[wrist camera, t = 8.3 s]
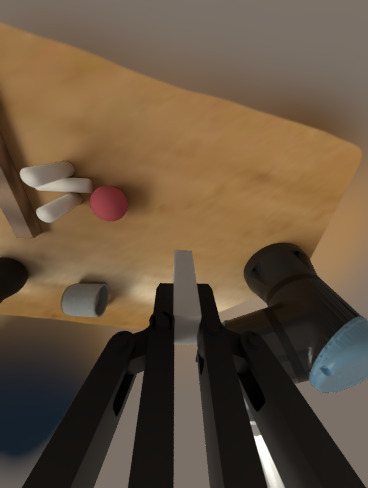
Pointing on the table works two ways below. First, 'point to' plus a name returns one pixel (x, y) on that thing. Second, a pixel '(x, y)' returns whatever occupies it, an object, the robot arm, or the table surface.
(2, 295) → the cola bottle
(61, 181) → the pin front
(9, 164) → the back rail
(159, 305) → the robot arm
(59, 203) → the pin
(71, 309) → the ceramic mug
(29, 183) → the pin
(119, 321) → the table surface
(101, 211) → the ball
